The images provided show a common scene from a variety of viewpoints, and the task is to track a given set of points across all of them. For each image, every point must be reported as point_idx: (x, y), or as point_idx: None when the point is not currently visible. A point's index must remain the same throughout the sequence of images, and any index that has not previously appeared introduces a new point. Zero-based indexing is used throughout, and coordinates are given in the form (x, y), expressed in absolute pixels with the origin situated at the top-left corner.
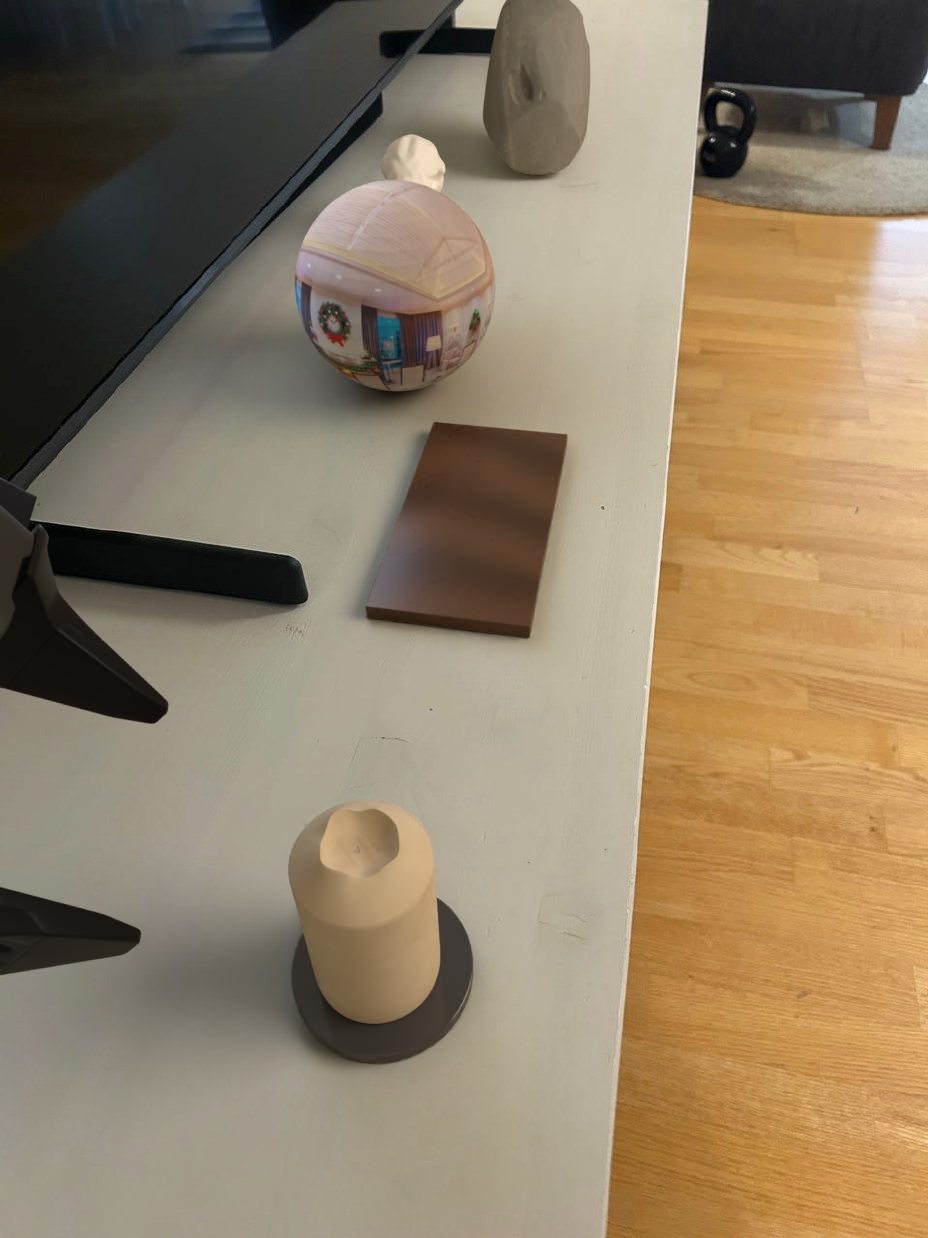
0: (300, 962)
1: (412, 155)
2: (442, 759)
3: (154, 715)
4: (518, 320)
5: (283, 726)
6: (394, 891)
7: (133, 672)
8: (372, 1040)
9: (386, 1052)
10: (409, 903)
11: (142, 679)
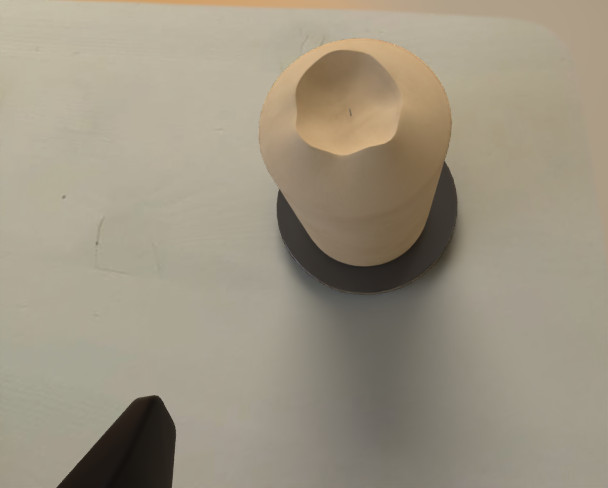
0: (367, 284)
1: None
2: (127, 178)
3: (164, 423)
4: None
5: (73, 358)
6: (407, 63)
7: (76, 474)
8: (441, 202)
9: (452, 187)
10: (412, 55)
11: (92, 452)
